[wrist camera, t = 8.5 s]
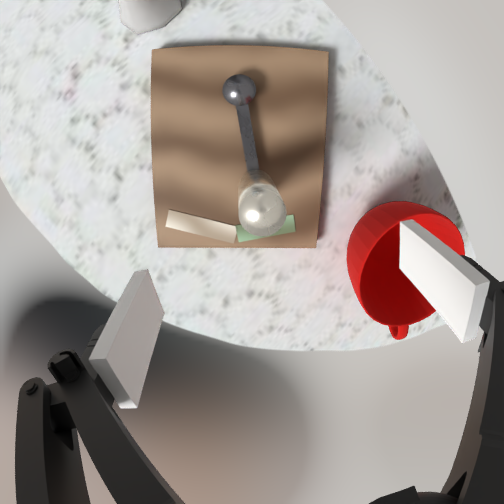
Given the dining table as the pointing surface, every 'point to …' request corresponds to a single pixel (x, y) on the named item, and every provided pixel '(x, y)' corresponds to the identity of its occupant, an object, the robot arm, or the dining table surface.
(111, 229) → the dining table surface
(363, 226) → the ceramic cup
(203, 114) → the board
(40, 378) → the robot arm
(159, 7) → the flask
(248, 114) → the metal crank handle
